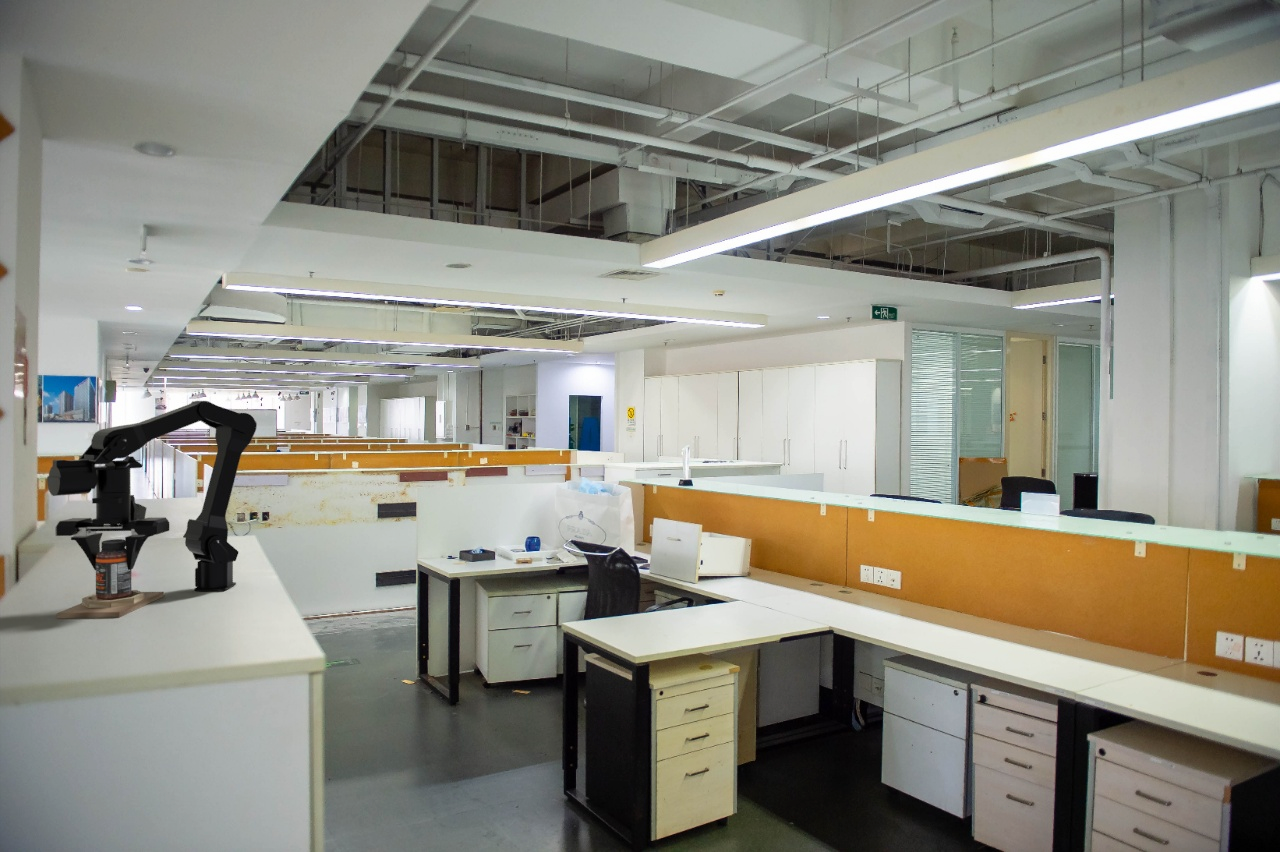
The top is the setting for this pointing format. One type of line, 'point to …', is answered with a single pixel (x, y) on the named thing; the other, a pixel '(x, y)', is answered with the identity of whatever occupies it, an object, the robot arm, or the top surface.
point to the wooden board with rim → (109, 605)
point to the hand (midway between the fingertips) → (113, 569)
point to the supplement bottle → (112, 571)
